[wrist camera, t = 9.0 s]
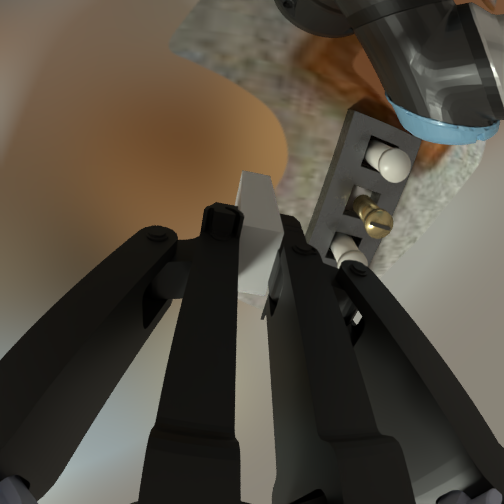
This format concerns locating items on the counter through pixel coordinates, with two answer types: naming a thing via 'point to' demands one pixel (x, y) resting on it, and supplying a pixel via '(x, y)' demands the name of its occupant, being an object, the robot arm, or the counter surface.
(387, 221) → the brass slotted knob
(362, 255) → the knob
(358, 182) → the panel
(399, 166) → the knob
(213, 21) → the counter surface
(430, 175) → the counter surface
